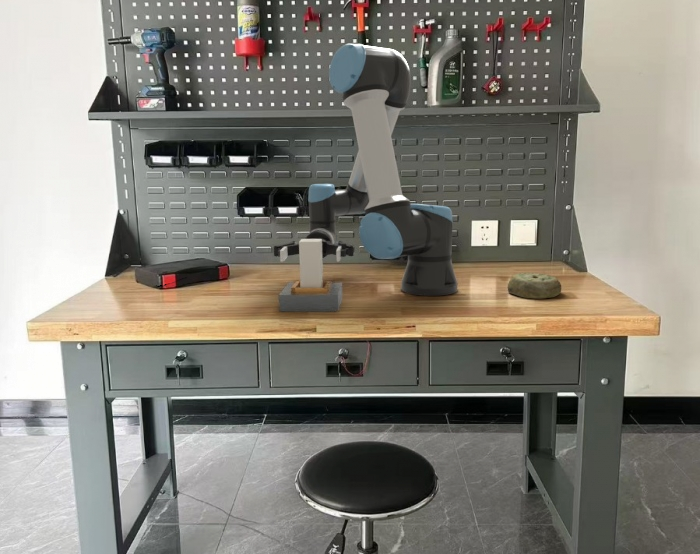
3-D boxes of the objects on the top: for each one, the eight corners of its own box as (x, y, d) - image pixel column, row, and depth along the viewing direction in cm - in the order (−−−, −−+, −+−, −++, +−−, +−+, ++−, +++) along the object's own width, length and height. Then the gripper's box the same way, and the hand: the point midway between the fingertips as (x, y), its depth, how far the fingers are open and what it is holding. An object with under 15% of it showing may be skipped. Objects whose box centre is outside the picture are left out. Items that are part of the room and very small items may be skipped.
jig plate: (342, 297, 155) (342, 278, 154) (338, 311, 141) (337, 290, 140) (288, 297, 155) (288, 278, 154) (279, 311, 142) (278, 290, 141)
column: (323, 286, 150) (321, 238, 147) (320, 290, 145) (319, 241, 142) (303, 286, 150) (301, 238, 148) (300, 290, 145) (298, 241, 143)
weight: (563, 301, 148) (564, 281, 148) (507, 299, 152) (508, 279, 151) (558, 289, 161) (559, 271, 160) (507, 287, 165) (507, 270, 164)
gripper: (364, 256, 164) (361, 271, 143) (274, 257, 165) (258, 271, 145) (364, 229, 162) (361, 240, 142) (273, 230, 164) (257, 240, 143)
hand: (309, 256), depth 143 cm, fingers open, 13 cm apart
